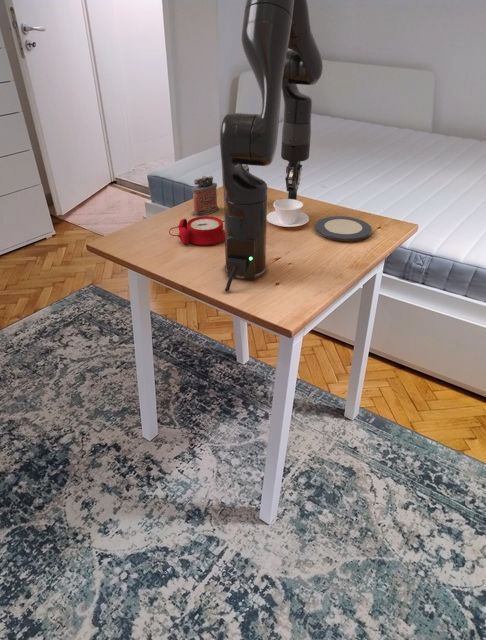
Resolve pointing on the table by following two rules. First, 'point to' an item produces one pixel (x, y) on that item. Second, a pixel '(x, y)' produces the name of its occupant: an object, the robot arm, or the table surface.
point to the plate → (343, 228)
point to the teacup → (288, 213)
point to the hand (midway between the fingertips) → (292, 203)
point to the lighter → (204, 196)
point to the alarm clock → (201, 230)
